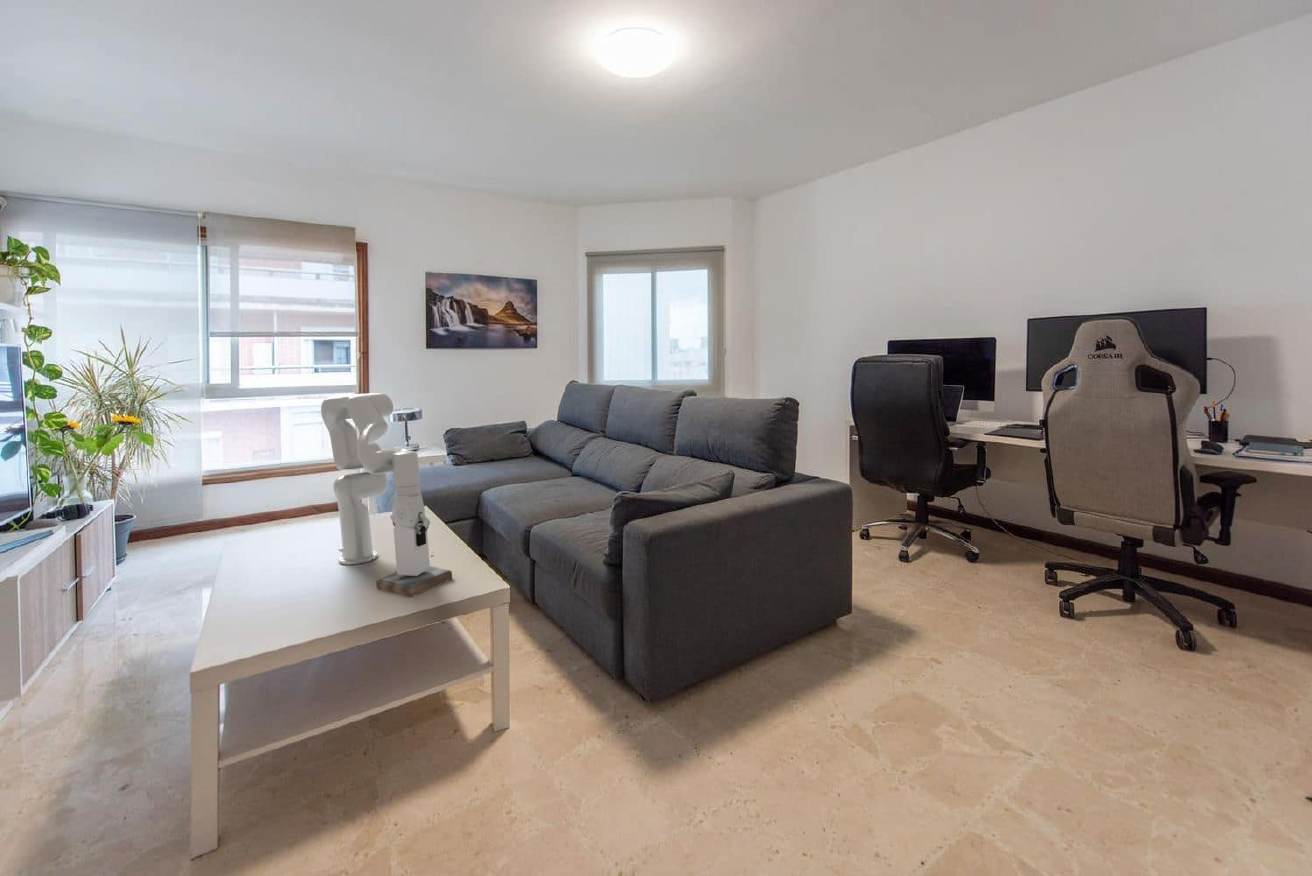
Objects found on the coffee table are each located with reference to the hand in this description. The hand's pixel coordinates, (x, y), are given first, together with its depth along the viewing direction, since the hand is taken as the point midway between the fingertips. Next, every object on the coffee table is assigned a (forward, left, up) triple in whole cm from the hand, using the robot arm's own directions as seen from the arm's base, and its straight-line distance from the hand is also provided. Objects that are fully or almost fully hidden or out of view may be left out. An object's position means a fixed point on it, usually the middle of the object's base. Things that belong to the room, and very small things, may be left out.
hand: (411, 543), depth 182 cm
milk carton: (0, 0, -10) cm, 10 cm away
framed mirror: (0, 0, -14) cm, 14 cm away
